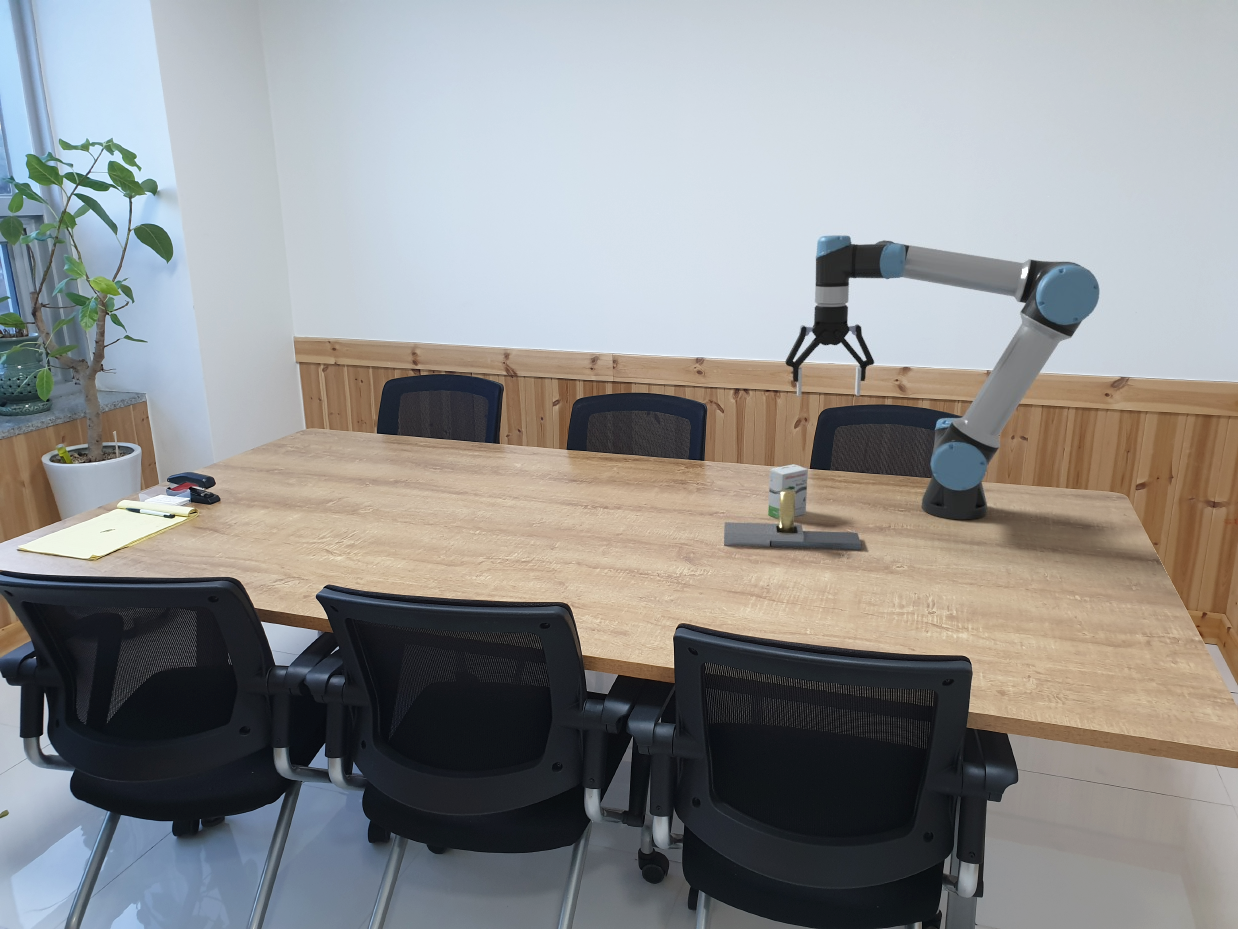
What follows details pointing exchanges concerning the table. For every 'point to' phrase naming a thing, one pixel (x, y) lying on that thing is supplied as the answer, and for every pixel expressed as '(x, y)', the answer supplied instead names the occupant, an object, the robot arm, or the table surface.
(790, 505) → the pin
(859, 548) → the chain end dark
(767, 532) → the chain end grey
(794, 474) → the ink box
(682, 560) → the table surface
